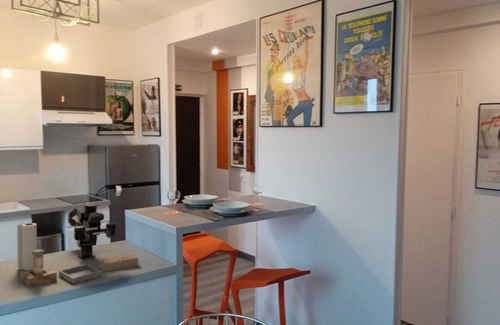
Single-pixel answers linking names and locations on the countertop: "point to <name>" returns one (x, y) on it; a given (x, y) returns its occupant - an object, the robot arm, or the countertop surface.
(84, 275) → the tray
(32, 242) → the paper towel roll
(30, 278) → the socket block
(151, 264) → the countertop surface
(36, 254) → the pin
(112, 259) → the brick
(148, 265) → the countertop surface
